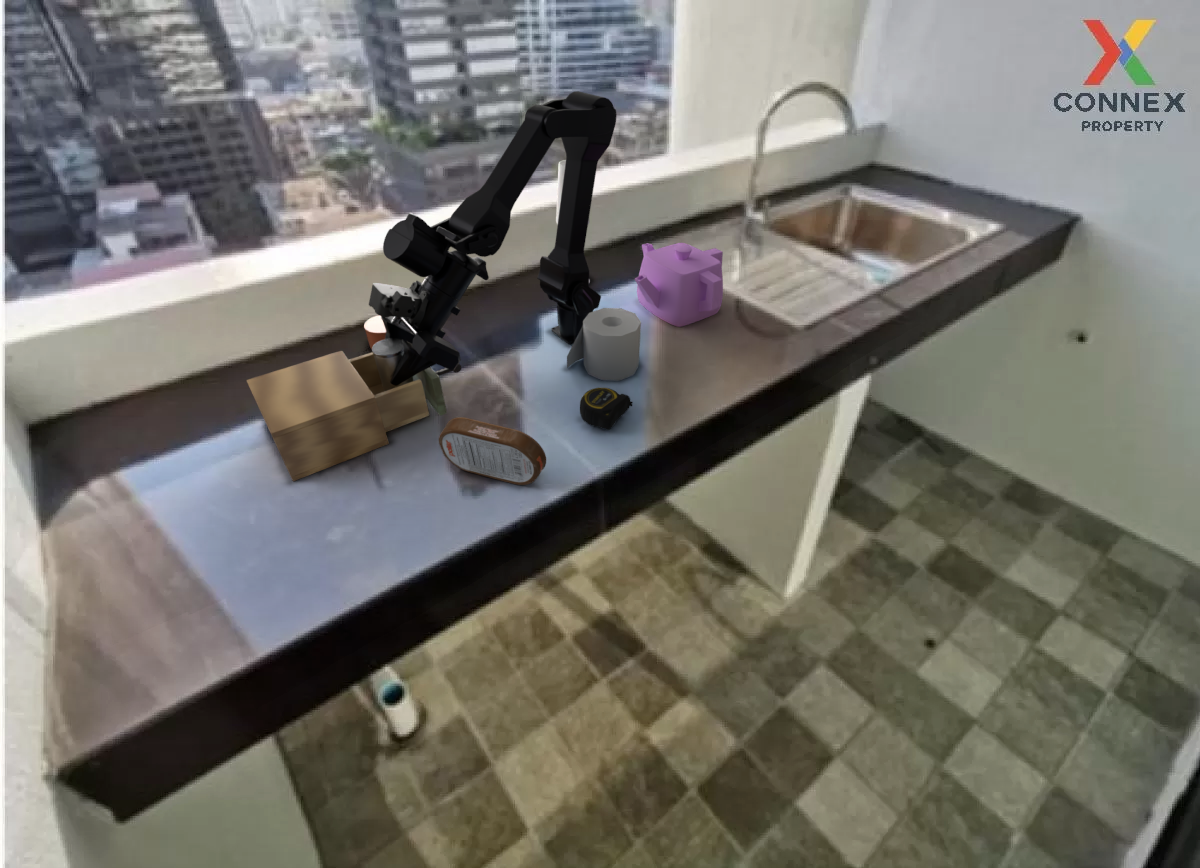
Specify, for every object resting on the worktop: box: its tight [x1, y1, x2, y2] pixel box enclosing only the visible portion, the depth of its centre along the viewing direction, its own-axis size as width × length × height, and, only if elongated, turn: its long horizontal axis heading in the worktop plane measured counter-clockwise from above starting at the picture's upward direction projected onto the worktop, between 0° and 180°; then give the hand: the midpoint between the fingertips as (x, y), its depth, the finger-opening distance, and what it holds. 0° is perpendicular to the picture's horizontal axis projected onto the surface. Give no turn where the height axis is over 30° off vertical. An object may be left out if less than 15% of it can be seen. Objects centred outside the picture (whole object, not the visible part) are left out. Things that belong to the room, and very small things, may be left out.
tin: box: [438, 416, 547, 486], centre depth 81 cm, size 15×3×8 cm, turn 71°
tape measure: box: [579, 387, 634, 430], centre depth 92 cm, size 7×7×4 cm
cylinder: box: [371, 338, 414, 392], centre depth 91 cm, size 5×5×8 cm
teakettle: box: [634, 242, 724, 328], centre depth 117 cm, size 17×17×12 cm
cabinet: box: [246, 350, 390, 482], centre depth 87 cm, size 14×15×9 cm
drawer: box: [348, 351, 463, 433], centre depth 93 cm, size 17×13×7 cm
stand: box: [363, 314, 386, 350], centre depth 109 cm, size 7×7×4 cm
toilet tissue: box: [566, 307, 642, 382], centre depth 101 cm, size 9×13×9 cm
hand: (386, 376), depth 91 cm, fingers closed on cylinder, 5 cm apart
